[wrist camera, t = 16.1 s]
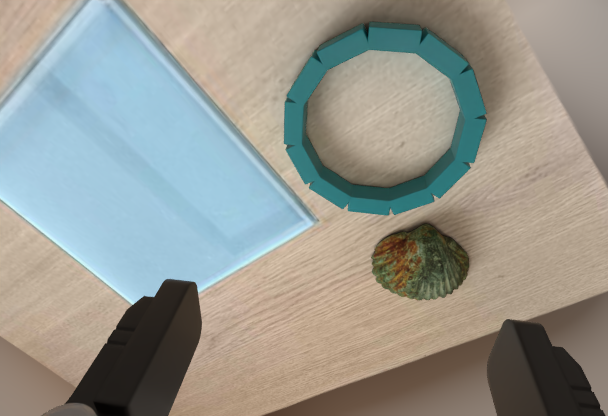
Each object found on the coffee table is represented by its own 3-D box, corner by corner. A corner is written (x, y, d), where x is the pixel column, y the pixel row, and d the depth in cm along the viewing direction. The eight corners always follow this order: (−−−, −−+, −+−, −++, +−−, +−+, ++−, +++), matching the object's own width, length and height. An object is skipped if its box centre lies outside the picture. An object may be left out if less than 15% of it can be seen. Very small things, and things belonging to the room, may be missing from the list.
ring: (360, -23, 31) (359, -20, 29) (521, 100, 34) (530, 110, 32) (257, 141, 39) (251, 152, 37) (394, 228, 42) (394, 242, 40)
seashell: (365, 317, 44) (386, 240, 38) (363, 289, 47) (381, 214, 42) (461, 328, 44) (495, 253, 38) (452, 300, 47) (482, 227, 42)
